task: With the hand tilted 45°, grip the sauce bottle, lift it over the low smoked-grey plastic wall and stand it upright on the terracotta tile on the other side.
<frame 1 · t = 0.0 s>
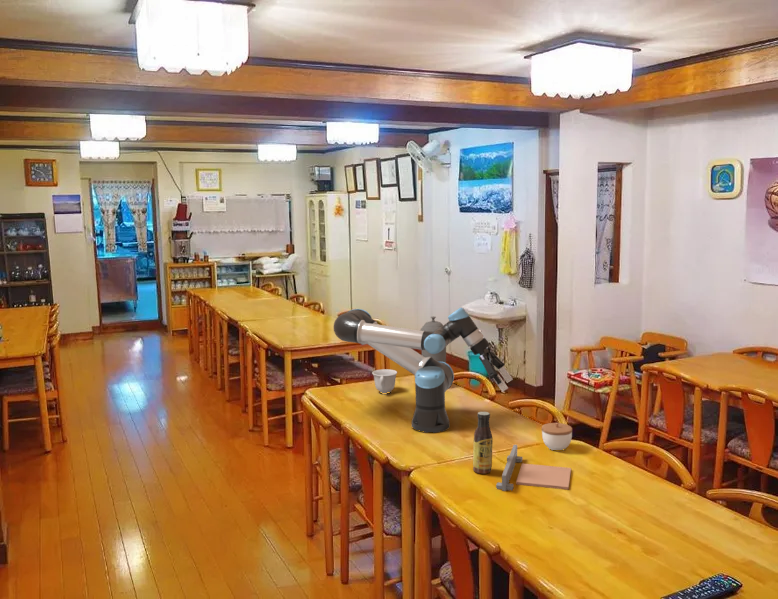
hand: (507, 385, 274), 15 cm above the table, tool tilted 35°, fingers open, 13 cm apart
teacup: (384, 394, 322), on the table
lidded jar: (556, 448, 246), on the table
canister: (434, 388, 331), on the table
sauce bottle: (482, 471, 226), on the table
grey wall: (510, 473, 224), on the table
terracotta tile: (544, 477, 220), on the table
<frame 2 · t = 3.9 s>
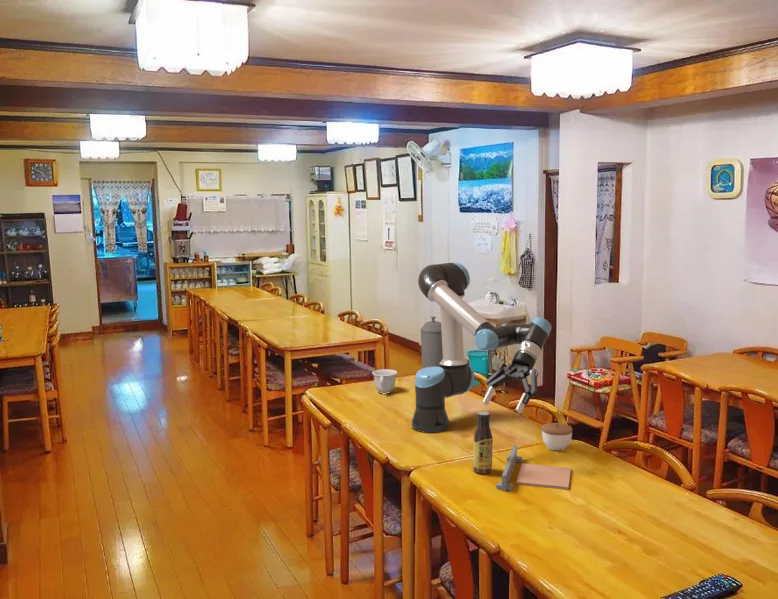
hand: (501, 407, 231), 19 cm above the table, tool tilted 45°, fingers open, 13 cm apart
nothing on the table moved.
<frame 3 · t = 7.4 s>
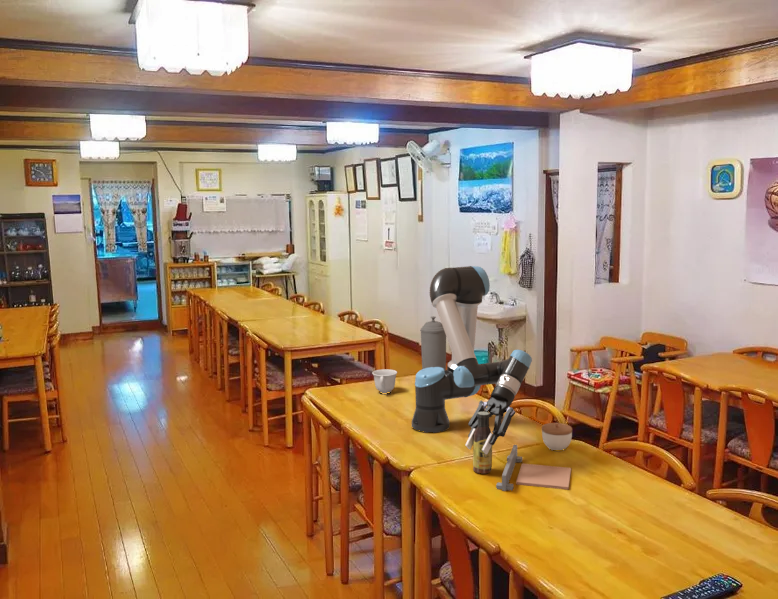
hand: (476, 449, 223), 8 cm above the table, tool tilted 45°, fingers closed on sauce bottle, 6 cm apart
sauce bottle: (482, 471, 226), on the table, touching gripper
everything else where it was.
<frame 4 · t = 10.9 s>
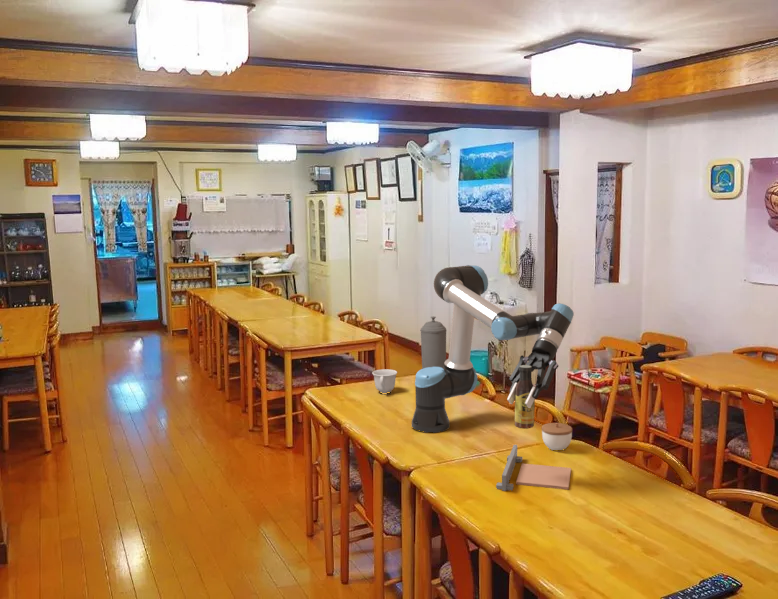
hand: (518, 403, 216), 25 cm above the table, tool tilted 45°, fingers closed on sauce bottle, 6 cm apart
sauce bottle: (524, 427, 220), point 16 cm above the table, touching gripper
everything else where it was.
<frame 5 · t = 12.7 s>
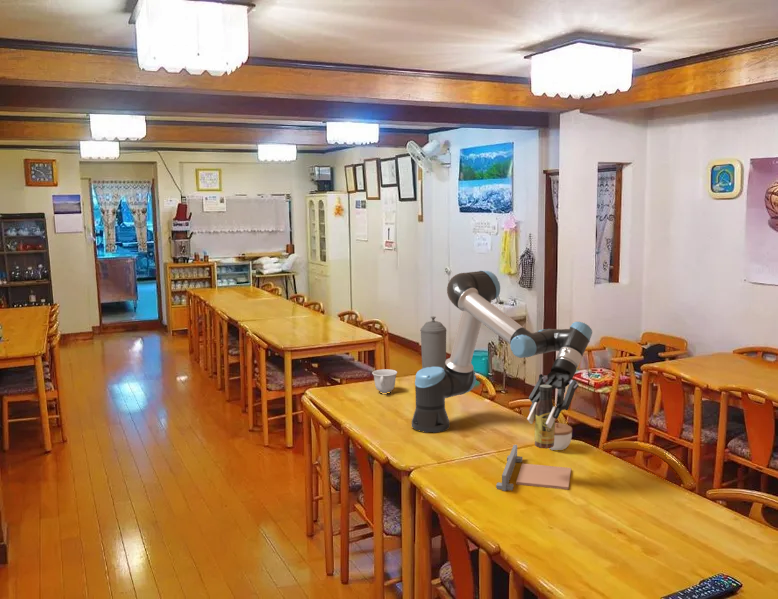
hand: (538, 423, 215), 19 cm above the table, tool tilted 45°, fingers closed on sauce bottle, 6 cm apart
sauce bottle: (544, 446, 219), point 10 cm above the table, touching gripper
everything else where it was.
when the fingers open (10 cm above the table, at t = 14.5 s): sauce bottle drops 1 cm, resting on terracotta tile.
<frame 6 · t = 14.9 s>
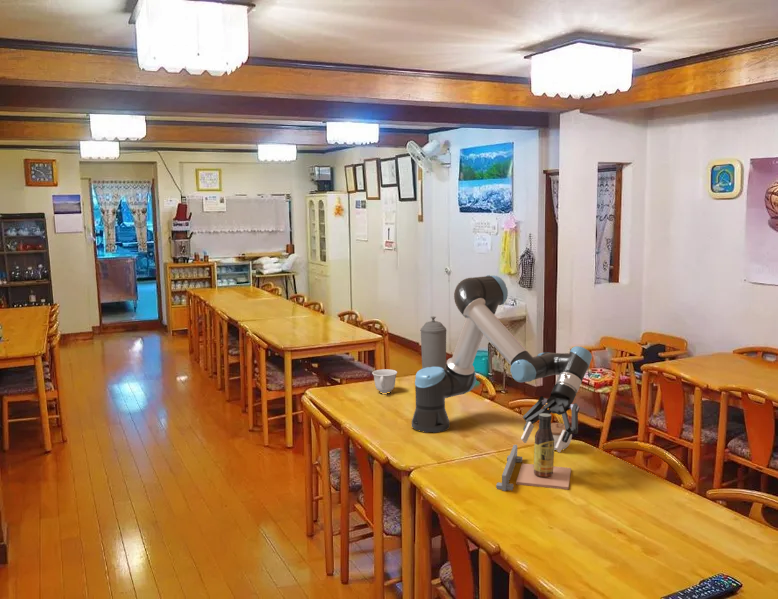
hand: (540, 445, 217), 11 cm above the table, tool tilted 45°, fingers open, 12 cm apart
sauce bottle: (543, 474, 221), point 1 cm above the table, touching terracotta tile
everything else where it was.
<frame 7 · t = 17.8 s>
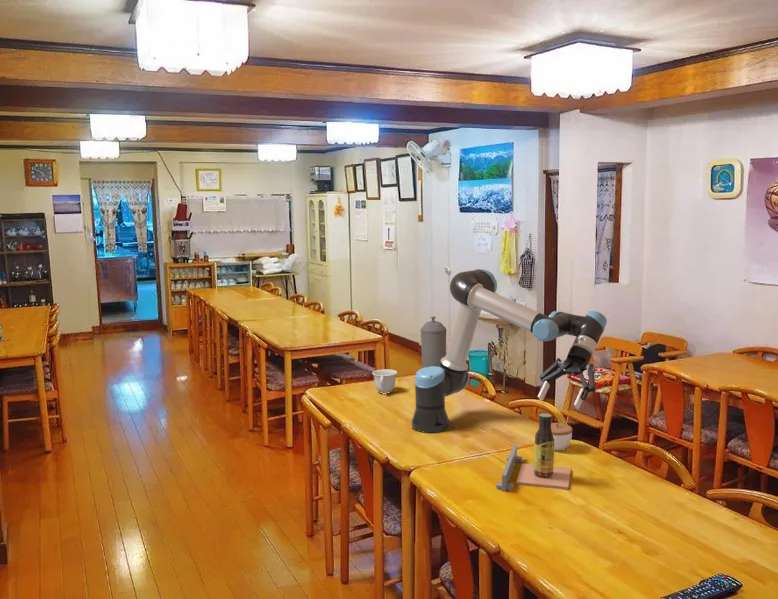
hand: (557, 403, 226), 22 cm above the table, tool tilted 45°, fingers open, 13 cm apart
nothing on the table moved.
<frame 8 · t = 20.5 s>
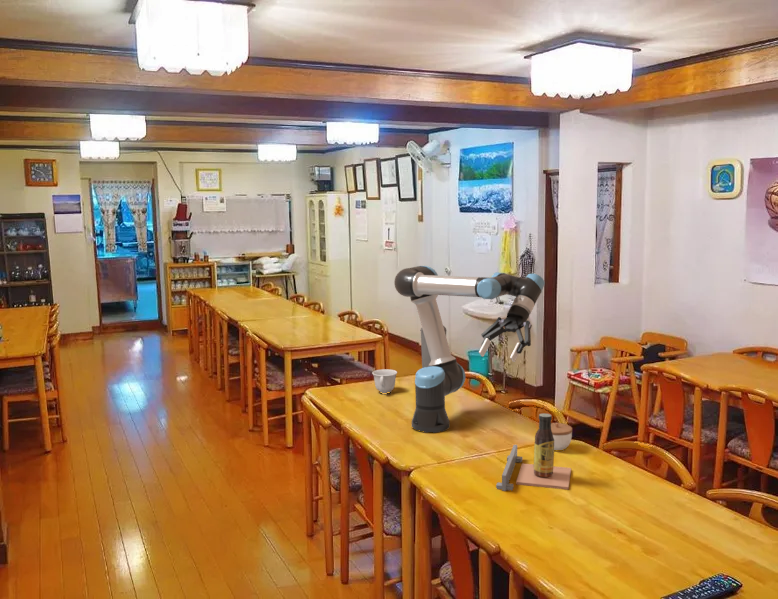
hand: (496, 357, 243), 34 cm above the table, tool tilted 45°, fingers open, 13 cm apart
nothing on the table moved.
at the end: sauce bottle inside the target area on the terracotta tile (0.3 cm from its centre), point 0.6 cm above the terracotta tile's base; sauce bottle tilted 0°; the gripper is holding nothing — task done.
